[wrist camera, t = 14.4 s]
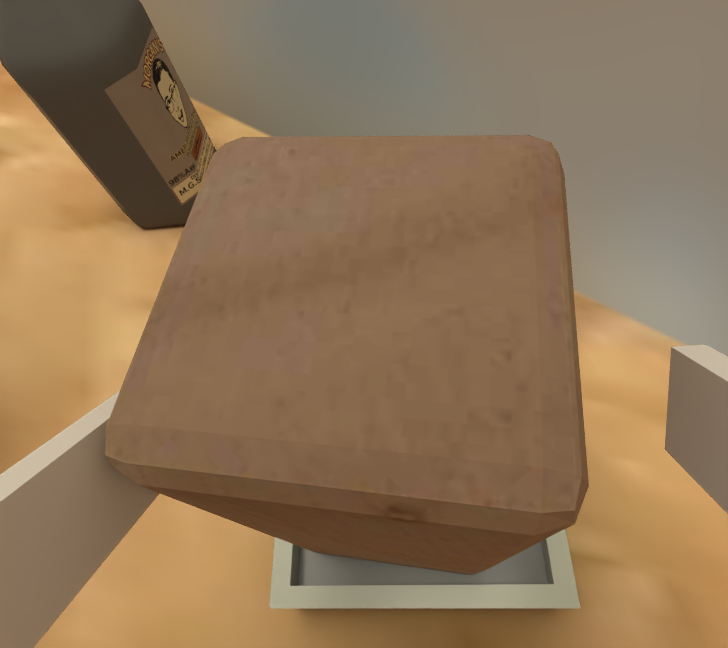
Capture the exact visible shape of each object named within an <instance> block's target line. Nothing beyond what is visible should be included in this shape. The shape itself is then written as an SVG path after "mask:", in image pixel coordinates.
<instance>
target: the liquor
mask: <svg viewBox="0 0 728 648" xmlns="http://www.w3.org/2000/svg"><path fill="white" fill-rule="evenodd" d="M0 60H1V63H2V65H3V66H4V68H5V69H6V70H7V71H8V72H9V74H10V75H11V76H12V77H13V79H14V80H15V81H16V82H17V83H18V85H19V86H20V87H21V88H22V89H23V91H24V92H25V93H26V94H27V95H28V97H29V98H30V99H31V100H32V102H33V103H34V104H35V105H36V106H37V108H38V109H39V110H40V111H41V112H42V114H43V115H44V116H45V117H46V118H47V120H48V121H49V122H50V123H51V125H52V126H53V127H54V128H55V129H56V131H57V132H58V133H59V134H60V135H61V137H62V138H63V139H64V140H65V141H66V143H67V144H68V145H69V146H70V148H71V149H72V150H73V151H74V152H75V154H76V155H77V156H78V157H79V158H80V160H81V161H82V162H83V163H84V164H85V166H86V167H87V168H88V169H89V171H90V172H91V173H92V174H93V175H94V177H95V178H96V179H97V180H98V181H99V183H100V184H101V185H102V186H103V187H104V189H105V190H106V191H107V192H108V194H109V195H110V196H111V197H112V198H113V200H114V201H115V202H116V203H117V204H118V206H119V207H120V208H121V209H122V211H123V212H124V213H125V214H126V215H127V216H128V217H129V218H130V219H132V220H133V221H134V222H135V223H136V224H137V225H138V226H140V227H144V228H156V227H167V226H177V225H186V222H187V219H188V217H189V214H190V212H191V209H192V207H193V204H194V202H195V199H196V197H197V194H198V191H199V189H200V186H201V184H202V181H203V179H204V176H205V174H206V171H207V169H208V166H209V164H210V161H211V158H212V156H213V154H214V153H215V152H216V149H215V147H214V145H213V143H212V141H211V139H210V138H209V136H208V134H207V132H206V130H205V128H204V126H203V124H202V122H201V120H200V118H199V116H198V114H197V112H196V110H195V108H194V106H193V104H192V102H191V100H190V98H189V96H188V94H187V92H186V90H185V88H184V86H183V84H182V82H181V80H180V78H179V76H178V74H177V73H176V70H175V68H174V66H173V65H172V63H171V61H170V59H169V57H168V55H167V53H166V51H165V49H164V47H163V45H162V43H161V41H160V39H159V37H158V35H157V33H156V31H155V29H154V27H153V25H152V23H151V21H150V19H149V17H148V15H147V13H146V11H145V9H144V7H143V5H142V4H141V3H140V1H139V0H0Z"/></svg>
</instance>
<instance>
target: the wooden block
mask: <svg viewBox="0 0 728 648" xmlns="http://www.w3.org/2000/svg"><path fill="white" fill-rule="evenodd" d="M105 456H106V457H107V459H108V460H109V462H110V463H111V465H112V466H113V467H114V468H115V469H116V470H118V471H119V472H121V473H122V474H123V475H125V476H126V477H128V478H129V479H130V480H132V481H133V482H135V483H136V484H137V485H140V486H142V487H145V488H147V489H150V490H153V491H155V492H158V493H161V494H163V495H166V496H168V497H171V498H174V499H176V500H179V501H181V502H184V503H187V504H189V505H192V506H195V507H197V508H200V509H202V510H205V511H208V512H210V513H213V514H216V515H218V516H221V517H223V518H226V519H229V520H231V521H234V522H237V523H239V524H242V525H244V526H247V527H250V528H252V529H255V530H258V531H260V532H263V533H265V534H268V535H271V536H273V537H276V538H279V539H281V540H284V541H286V542H289V543H292V544H294V545H297V546H300V547H302V548H305V549H307V550H310V551H313V552H315V553H321V554H328V555H335V556H342V557H349V558H356V559H363V560H370V561H377V562H383V563H390V564H397V565H404V566H411V567H418V568H425V569H432V570H439V571H446V572H453V573H460V574H466V575H472V574H475V573H479V572H482V571H485V570H487V569H489V568H491V567H493V566H495V565H497V564H498V563H500V562H502V561H504V560H506V559H508V558H510V557H512V556H514V555H516V554H518V553H520V552H521V551H523V550H525V549H527V548H529V547H531V546H533V545H535V544H537V543H539V542H541V541H543V540H544V539H546V538H548V537H550V536H552V535H554V534H556V533H558V532H560V531H562V530H564V529H566V528H567V527H569V526H571V525H573V524H575V522H576V519H577V516H578V513H579V511H580V508H581V505H582V502H583V500H584V497H585V494H586V492H587V489H588V486H589V484H588V471H587V458H586V446H585V433H584V420H583V407H582V394H581V382H580V369H579V356H578V343H577V331H576V318H575V305H574V292H573V280H572V267H571V255H570V242H569V229H568V216H567V203H566V190H565V178H564V172H563V168H562V165H561V161H560V157H559V154H558V152H557V151H556V149H555V148H554V146H553V145H552V143H551V142H548V141H545V140H542V139H539V138H536V137H533V136H530V135H498V136H497V135H489V136H488V135H486V136H485V135H483V136H350V137H348V136H347V137H346V136H345V137H344V136H342V137H242V138H239V139H236V140H234V141H231V142H228V143H226V144H224V145H223V146H222V147H221V148H220V149H218V150H217V151H216V152H215V153H214V154H213V156H212V158H211V161H210V164H209V166H208V169H207V171H206V174H205V176H204V179H203V181H202V184H201V186H200V189H199V191H198V194H197V197H196V199H195V202H194V204H193V207H192V209H191V212H190V214H189V217H188V219H187V222H186V225H185V227H184V230H183V232H182V235H181V237H180V240H179V242H178V245H177V247H176V250H175V253H174V255H173V258H172V260H171V263H170V265H169V268H168V270H167V273H166V275H165V278H164V281H163V283H162V286H161V288H160V291H159V293H158V296H157V298H156V301H155V303H154V306H153V308H152V311H151V314H150V316H149V319H148V321H147V324H146V326H145V329H144V331H143V334H142V336H141V339H140V342H139V344H138V347H137V349H136V352H135V354H134V357H133V359H132V362H131V364H130V367H129V370H128V372H127V375H126V377H125V380H124V382H123V385H122V387H121V390H120V392H119V395H118V397H117V400H116V403H115V405H114V408H113V410H112V413H111V415H110V418H109V420H108V423H107V426H106V447H105Z"/></svg>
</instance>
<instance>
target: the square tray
mask: <svg viewBox="0 0 728 648" xmlns="http://www.w3.org/2000/svg"><path fill="white" fill-rule="evenodd" d="M269 608H580V603H579V598H578V593H577V587H576V582H575V577H574V571H573V566H572V561H571V556H570V550H569V545H568V540H567V535H566V529H564V530H562V531H560V532H558V533H556V534H554V535H552V536H550V537H548V538H546V539H544V540H543V541H541V542H539V543H537V544H535V545H533V546H531V547H529V548H527V549H525V550H523V551H521V552H520V553H518V554H516V555H514V556H512V557H510V558H508V559H506V560H504V561H502V562H500V563H498V564H497V565H495V566H493V567H491V568H489V569H487V570H485V571H482V572H479V573H475V574H472V575H466V574H460V573H453V572H446V571H439V570H432V569H425V568H418V567H411V566H404V565H397V564H390V563H383V562H377V561H370V560H363V559H356V558H349V557H342V556H335V555H328V554H321V553H315V552H313V551H310V550H307V549H305V548H302V547H300V546H297V545H294V544H292V543H289V542H286V541H284V540H281V539H279V538H276V537H275V543H274V556H273V568H272V580H271V593H270V605H269Z"/></svg>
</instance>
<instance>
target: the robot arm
mask: <svg viewBox="0 0 728 648" xmlns="http://www.w3.org/2000/svg"><path fill="white" fill-rule="evenodd" d="M119 392H120V391H119ZM119 392H117V393H116V394H114V395H113V396H111V397H110V398H109V399H107V400H106V401H104V402H103V403H101V404H100V405H99V406H97V407H96V408H94V409H93V410H91V411H90V412H89V413H87V414H86V415H84V416H83V417H82V418H80V419H79V420H77V421H76V422H74V423H73V424H72V425H70V426H69V427H67V428H66V429H64V430H63V431H62V432H60V433H59V434H57V435H56V436H54V437H53V438H52V439H50V440H49V441H47V442H46V443H44V444H43V445H42V446H40V447H39V448H37V449H36V450H35V451H33V452H32V453H30V454H29V455H27V456H26V457H25V458H23V459H22V460H20V461H19V462H17V463H16V464H15V465H13V466H12V467H10V468H9V469H7V470H6V471H5V472H3V473H2V474H0V648H33V647H34V646H35V645H36V644H37V643H38V641H39V640H40V639H41V638H42V636H43V635H44V634H45V633H46V632H47V630H48V629H49V628H50V627H51V625H52V624H53V623H54V622H55V621H56V619H57V618H58V617H59V616H60V614H61V613H62V612H63V611H64V610H65V608H66V607H67V606H68V605H69V603H70V602H71V601H72V600H73V599H74V597H75V596H76V595H77V594H78V592H79V591H80V590H81V589H82V588H83V586H84V585H85V584H86V583H87V581H88V580H89V579H90V578H91V577H92V575H93V574H94V573H95V572H96V570H97V569H98V568H99V567H100V566H101V564H102V563H103V562H104V561H105V559H106V558H107V557H108V556H109V555H110V553H111V552H112V551H113V550H114V548H115V547H116V546H117V545H118V544H119V542H120V541H121V540H122V539H123V537H124V536H125V535H126V534H127V533H128V531H129V530H130V529H131V528H132V526H133V525H134V524H135V523H136V521H137V520H138V519H139V518H140V517H141V515H142V514H143V513H144V512H145V510H146V509H147V508H148V507H149V506H150V504H151V503H152V502H153V501H154V499H155V498H156V497H157V496H158V495H159V493H158V492H155V491H153V490H150V489H147V488H145V487H142V486H140V485H137V484H136V483H135V482H133V481H132V480H130V479H129V478H128V477H126V476H125V475H123V474H122V473H121V472H119V471H118V470H116V469H115V468H114V467H113V466H112V465H111V463H110V462H109V460H108V459H107V457H106V456H105V447H106V426H107V423H108V420H109V418H110V415H111V413H112V410H113V408H114V405H115V403H116V400H117V397H118V395H119ZM665 450H666V451H667V452H668V453H669V454H670V455H671V456H672V457H673V458H674V459H675V460H676V461H677V462H678V463H679V464H680V465H681V466H682V467H683V468H684V469H685V470H686V471H687V472H688V474H689V475H690V476H691V477H692V478H693V479H694V480H695V481H696V482H697V483H698V484H699V485H700V486H701V487H702V488H703V489H704V490H705V491H706V492H707V493H708V494H709V495H710V496H711V497H712V498H713V499H714V500H715V501H716V502H717V503H718V504H719V505H720V506H721V507H722V509H723V510H724V511H725V512H726V513H727V514H728V357H727V356H726V355H724V354H722V353H720V352H718V351H716V350H714V349H712V348H711V347H709V346H707V345H693V346H678V347H671V360H670V376H669V391H668V407H667V423H666V439H665Z"/></svg>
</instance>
